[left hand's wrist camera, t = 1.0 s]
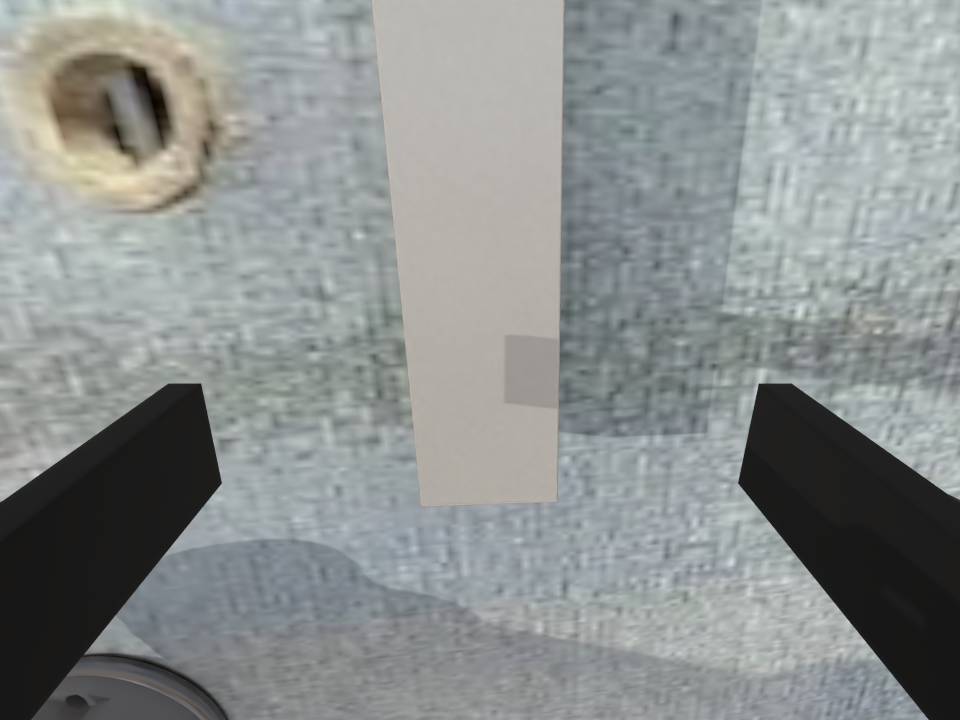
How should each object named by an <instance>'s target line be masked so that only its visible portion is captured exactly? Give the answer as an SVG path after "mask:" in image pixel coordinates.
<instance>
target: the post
mask: <svg viewBox="0 0 960 720" xmlns="http://www.w3.org/2000/svg"><path fill="white" fill-rule="evenodd" d="M564 6H565V0H372V10H373V20H374V31H375V41H376V51H377V61H378V71H379V82H380V92H381V102H382V112H383V122H384V132H385V143H386V153H387V163H388V173H389V183H390V194H391V204H392V214H393V224H394V234H395V244H396V255H397V265H398V275H399V285H400V295H401V305H402V316H403V326H404V336H405V346H406V356H407V367H408V377H409V387H410V397H411V407H412V417H413V428H414V438H415V448H416V458H417V468H418V478H419V489H420V499H421V506H422V507H430V506H458V505H487V504H516V503H545V502H557V501H558V437H559V365H560V294H561V222H562V150H563V78H564Z"/></svg>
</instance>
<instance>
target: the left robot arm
mask: <svg viewBox="0 0 960 720" xmlns="http://www.w3.org/2000/svg"><path fill="white" fill-rule="evenodd" d="M221 484H222V482H221V477H220V472H219V467H218V462H217V458H216V453H215V448H214V443H213V439H212V434H211V429H210V424H209V419H208V415H207V410H206V405H205V400H204V395H203V391H202V386H201V384H167V385H166V386H165V387H163V388H162V389H160V390H159V391H157V392H156V393H155V394H153V395H152V396H150V397H149V398H148V399H146V400H145V401H143V402H142V403H140V404H139V405H138V406H136V407H135V408H133V409H132V410H131V411H129V412H128V413H126V414H125V415H124V416H122V417H121V418H119V419H118V420H116V421H115V422H114V423H112V424H111V425H109V426H108V427H107V428H105V429H104V430H102V431H101V432H100V433H98V434H97V435H95V436H94V437H92V438H91V439H90V440H88V441H87V442H85V443H84V444H83V445H81V446H80V447H78V448H77V449H76V450H74V451H73V452H71V453H70V454H68V455H67V456H66V457H64V458H63V459H61V460H60V461H59V462H57V463H56V464H54V465H53V466H52V467H50V468H49V469H47V470H46V471H44V472H43V473H42V474H40V475H39V476H37V477H36V478H35V479H33V480H32V481H30V482H29V483H28V484H26V485H25V486H23V487H22V488H20V489H19V490H18V491H16V492H15V493H13V494H12V495H11V496H9V497H8V498H6V499H5V500H4V501H2V502H0V720H226V719H225V717H224V715H223V714H222V712H221V711H220V710H219V708H218V707H217V706H216V705H215V704H214V702H213V701H212V700H211V699H210V698H209V697H208V696H206V695H205V694H204V693H203V692H202V691H201V690H199V689H198V688H197V687H195V686H194V685H192V684H191V683H189V682H188V681H186V680H185V679H183V678H181V677H179V676H177V675H175V674H173V673H171V672H169V671H167V670H164V669H162V668H159V667H156V666H154V665H150V664H147V663H144V662H140V661H136V660H131V659H125V658H118V657H105V656H90V657H82V656H83V655H84V654H85V652H86V651H87V650H88V649H89V647H90V646H91V645H92V644H93V642H94V641H95V640H96V639H97V637H98V636H99V635H100V634H101V633H102V631H103V630H104V629H105V628H106V626H107V625H108V624H109V623H110V621H111V620H112V619H113V618H114V616H115V615H116V614H117V613H118V611H119V610H120V609H121V608H122V606H123V605H124V604H125V603H126V602H127V600H128V599H129V598H130V597H131V595H132V594H133V593H134V592H135V590H136V589H137V588H138V587H139V585H140V584H141V583H142V582H143V580H144V579H145V578H146V577H147V575H148V574H149V573H150V572H151V571H152V569H153V568H154V567H155V566H156V564H157V563H158V562H159V561H160V559H161V558H162V557H163V556H164V554H165V553H166V552H167V551H168V549H169V548H170V547H171V546H172V544H173V543H174V542H175V541H176V540H177V538H178V537H179V536H180V535H181V533H182V532H183V531H184V530H185V528H186V527H187V526H188V525H189V523H190V522H191V521H192V520H193V518H194V517H195V516H196V515H197V513H198V512H199V511H200V510H201V509H202V507H203V506H204V505H205V504H206V502H207V501H208V500H209V499H210V497H211V496H212V495H213V494H214V492H215V491H216V490H217V489H218V487H219V486H220V485H221ZM738 484H739V485H740V486H741V487H742V489H743V490H744V491H745V492H746V494H747V495H748V496H749V497H750V499H751V500H752V501H753V502H754V504H755V505H756V506H757V507H758V509H759V510H760V511H761V512H762V513H763V515H764V516H765V517H766V518H767V520H768V521H769V522H770V523H771V525H772V526H773V527H774V528H775V530H776V531H777V532H778V533H779V535H780V536H781V537H782V538H783V540H784V541H785V542H786V543H787V544H788V546H789V547H790V548H791V549H792V551H793V552H794V553H795V554H796V556H797V557H798V558H799V559H800V561H801V562H802V563H803V564H804V566H805V567H806V568H807V569H808V571H809V572H810V573H811V574H812V575H813V577H814V578H815V579H816V580H817V582H818V583H819V584H820V585H821V587H822V588H823V589H824V590H825V592H826V593H827V594H828V595H829V597H830V598H831V599H832V600H833V602H834V603H835V604H836V605H837V606H838V608H839V609H840V610H841V611H842V613H843V614H844V615H845V616H846V618H847V619H848V620H849V621H850V623H851V624H852V625H853V626H854V628H855V629H856V630H857V631H858V633H859V634H860V635H861V636H862V637H863V639H864V640H865V641H866V642H867V644H868V645H869V646H870V647H871V649H872V650H873V651H874V652H875V654H876V655H877V656H878V657H879V659H880V660H881V661H882V662H883V664H884V665H885V666H886V667H887V669H888V670H889V671H890V672H891V673H892V675H893V676H894V677H895V678H896V680H897V681H898V682H899V683H900V685H901V686H902V687H903V688H904V690H905V691H906V692H907V693H908V695H909V696H910V697H911V698H912V700H913V701H914V702H915V703H916V704H917V706H918V707H919V708H920V709H921V711H922V712H923V713H924V714H925V716H926V717H927V718H928V719H929V720H960V500H959V499H957V498H955V497H953V496H951V495H948V494H947V493H945V492H944V491H942V490H941V489H940V488H938V487H937V486H935V485H934V484H932V483H931V482H930V481H928V480H927V479H925V478H924V477H923V476H921V475H920V474H918V473H917V472H916V471H914V470H913V469H911V468H910V467H908V466H907V465H906V464H904V463H903V462H901V461H900V460H899V459H897V458H896V457H894V456H893V455H892V454H890V453H889V452H887V451H886V450H884V449H883V448H882V447H880V446H879V445H877V444H876V443H875V442H873V441H872V440H870V439H869V438H868V437H866V436H865V435H863V434H862V433H860V432H859V431H858V430H856V429H855V428H853V427H852V426H851V425H849V424H848V423H846V422H845V421H844V420H842V419H841V418H839V417H838V416H836V415H835V414H834V413H832V412H831V411H829V410H828V409H827V408H825V407H824V406H822V405H821V404H820V403H818V402H817V401H815V400H814V399H812V398H811V397H810V396H808V395H807V394H805V393H804V392H803V391H801V390H800V389H798V388H797V387H795V386H794V385H793V384H759V386H758V391H757V395H756V400H755V405H754V410H753V415H752V419H751V424H750V429H749V434H748V439H747V443H746V448H745V453H744V458H743V462H742V467H741V472H740V477H739V482H738Z"/></svg>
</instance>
